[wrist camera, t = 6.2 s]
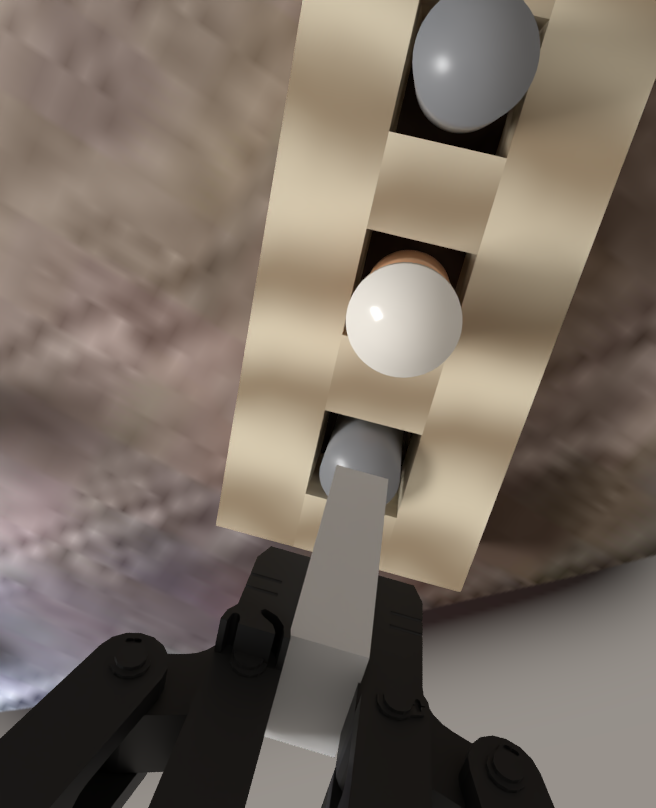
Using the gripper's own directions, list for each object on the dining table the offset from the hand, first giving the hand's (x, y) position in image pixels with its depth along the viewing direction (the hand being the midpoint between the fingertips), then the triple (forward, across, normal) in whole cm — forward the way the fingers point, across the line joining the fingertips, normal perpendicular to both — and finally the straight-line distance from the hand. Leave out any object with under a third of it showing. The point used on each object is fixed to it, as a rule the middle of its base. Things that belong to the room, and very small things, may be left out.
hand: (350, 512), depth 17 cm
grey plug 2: (+14, 0, +13) cm, 19 cm away
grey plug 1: (+17, 0, -5) cm, 18 cm away
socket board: (+18, 0, +4) cm, 18 cm away
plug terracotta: (+14, 0, +4) cm, 14 cm away
